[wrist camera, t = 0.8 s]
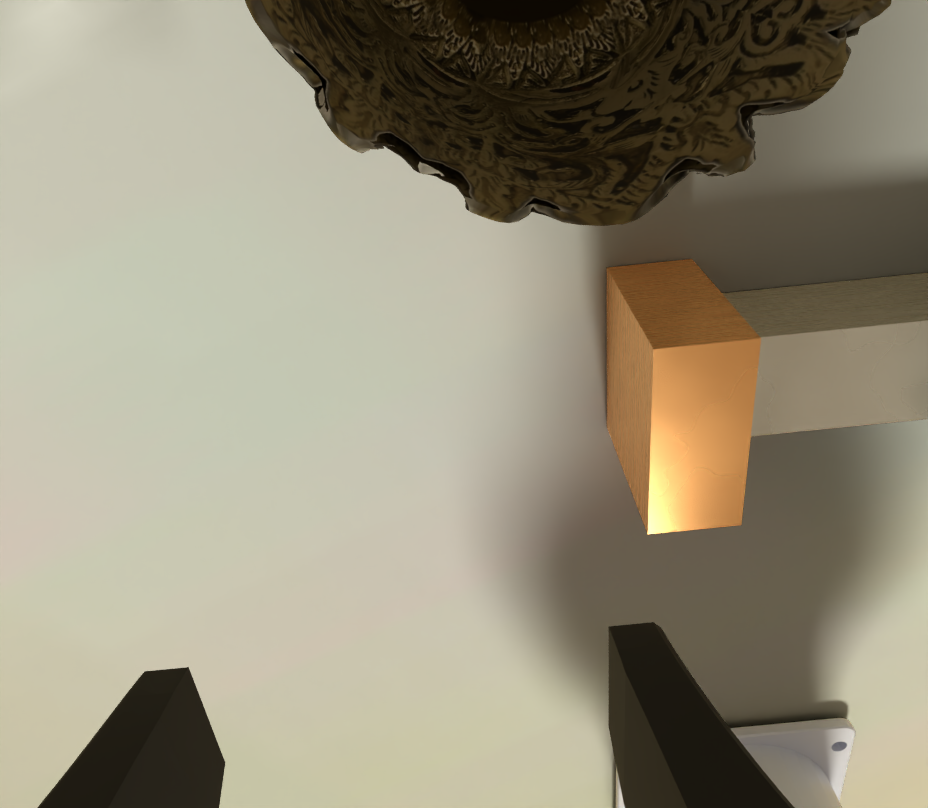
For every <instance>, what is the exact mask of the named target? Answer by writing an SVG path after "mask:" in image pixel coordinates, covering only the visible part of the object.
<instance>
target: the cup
mask: <svg viewBox="0 0 928 808" xmlns="http://www.w3.org/2000/svg"><path fill="white" fill-rule="evenodd" d="M245 2H246V4H247V7H248V9H249V11H250V13H251V15H252V17H253V18H254V20H255V22H256V23H257V25H258V26H259V28H260V29H261V31H262V32H263V33H264V34H265V36H266V37H267V38H268V40H269V41H270V43H271V44H272V46H273V47H274V48H275V49H276V51H277V52H278V53H279V54H280V55H281V56H282V57H283V58H284V59H285V60H286V61H287V62H288V63H289V64H290V65H291V66H292V67H293V68H294V69H295V70H296V71H297V72H298V73H299V74H300V75H301V76H302V77H303V78H304V79H305V80H306V82H307V83H308V84H309V85H310V86H311V87H312V88H313V89H314V90H315V101H316V106H317V108H318V110H319V111H320V113H321V115H322V117H323V118H324V120H325V122H326V123H327V125H328V126H329V128H330V129H331V131H332V132H333V133H334V134H335V135H336V137H337V138H338V139H339V140H340V141H342V142H343V143H344V144H345V145H347V146H348V147H350V148H351V149H353V150H355V151H357V152H360V153H364V152H366V151H368V150H370V149H384V147H383V146H385V147H387V148H388V149H390V150H391V151H393V152H395V153H396V154H398V155H400V156H401V157H402V158H403V159H404V160H405V161H406V162H407V163H408V164H409V165H410V166H411V167H412V168H413V169H414V170H415V171H417V172H419V173H422V174H428V175H433V176H436V177H438V178H440V179H441V180H444V181H446V182H448V183H451V184H453V185H455V186H456V187H457V188H458V189H459V191H460V192H461V194H462V195H463V196H464V198H465V202H466V206H465V207H466V209H467V210H468V211H470V212H472V213H474V214H477V215H479V216H482V217H485V218H488V219H491V220H494V221H498V222H505V223H511V222H517V221H519V220H521V219H523V218H524V217H526V216H528V215H529V214H530V212H535V213H538V214H543V215H546V216H549V217H551V218H554V219H556V220H559V221H561V222H565V223H572V224H578V225H595V226H605V225H616V224H625V223H628V222H631V221H634V220H636V219H638V218H640V217H641V216H643V215H644V214H646V213H647V212H648V211H650V210H651V209H652V208H653V207H655V206H656V205H657V204H658V203H659V202H660V201H662V200H663V199H664V198H665V197H667V195H668V193H669V191H670V190H671V189H672V188H673V187H674V186H675V185H676V184H677V183H678V182H679V181H681V180H682V179H683V178H685V176H686V175H687V174H688V173H689V172H690V171H697V172H703V173H704V174H707V175H708V176H723V177H724V176H728V175H731V174H734V173H737V172H741V171H745V170H746V169H747V168H748V167H749V166H750V165H751V164H752V163H753V162H754V161H755V159H756V158H755V151H754V145H755V141H754V137H755V131H754V130H753V129H752V124H753V120H752V119H751V118H752V116H755V115H774V114H781V113H785V112H790V111H795V110H800V109H803V108H805V107H806V106H808V105H810V104H811V103H813V102H814V101H816V100H818V99H819V98H820V97H822V96H823V95H824V94H825V93H827V92H828V91H829V90H830V89H831V88H832V87H833V86H834V85H835V83H836V82H837V81H838V80H839V79H840V77H841V76H842V74H843V71H844V70H843V69H844V67H845V65H846V63H847V61H848V59H849V56H850V53H851V49H850V48H849V47H848V45H847V44H846V38H847V37H851V36H855V35H857V34H858V31H859V28H860V26H861V25H863V24H864V23H866V22H868V21H869V20H871V19H873V18H875V17H876V16H878V15H880V14H881V13H882V12H883V11H884V10H885V9H887V8H888V7H889V6H890V4H891V0H245ZM747 121H748V122H749V126H748V123H747ZM748 129H749V132H748ZM749 135H750V137H749ZM697 174H700V173H697Z"/></svg>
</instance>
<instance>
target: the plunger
mask: <svg viewBox="0 0 928 808" xmlns="http://www.w3.org/2000/svg"><path fill="white" fill-rule="evenodd" d="M922 419H928V273H919V274H909V275H899V276H889V277H879V278H869V279H859V280H850V281H840V282H830V283H820V284H810V285H800V286H790V287H781V288H771V289H761V290H751V291H741V292H731V293H721V292H720V291H719V289H718V288H717V287H716V286H715V285H714V284H713V283H712V281H711V280H710V279H709V278H708V277H707V276H706V275H705V273H704V272H703V271H702V270H701V269H700V268H699V267H698V265H697V264H696V263H695V262H694V261H693V260H692V259H686V260H676V261H666V262H657V263H647V264H637V265H627V266H617V267H608V268H607V429H608V431H609V434H610V436H611V439H612V442H613V444H614V447H615V450H616V452H617V455H618V457H619V460H620V463H621V465H622V468H623V471H624V473H625V476H626V479H627V481H628V484H629V486H630V489H631V492H632V494H633V497H634V500H635V502H636V505H637V507H638V510H639V513H640V515H641V518H642V521H643V523H644V526H645V528H646V531H647V534H656V533H666V532H676V531H687V530H697V529H707V528H717V527H727V526H738V525H741V523H742V514H743V505H744V495H745V486H746V476H747V467H748V458H749V448H750V439H751V436H761V435H771V434H781V433H791V432H801V431H811V430H821V429H831V428H842V427H852V426H862V425H872V424H882V423H892V422H902V421H912V420H922Z"/></svg>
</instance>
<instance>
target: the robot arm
mask: <svg viewBox="0 0 928 808" xmlns="http://www.w3.org/2000/svg"><path fill="white" fill-rule="evenodd" d="M609 730H610V735H611V741H612V746H613V751H614V756H615V762H616V808H842V806H841V804H840V802H839V801H840V797H841V793H842V788H843V784H844V780H845V776H846V772H847V767H848V763H849V759H850V755H851V751H852V747H853V742H854V738H855V729H854V727H853V726H852V724H851V722H850V721H849V720H847V719H844V718H832V719H821V720H811V721H800V722H790V723H779V724H769V725H758V726H748V727H737V728H729V726H728V725H727V724H726V722H725V721H724V720H723V718H722V717H721V716H720V714H719V713H718V712H717V710H716V709H715V708H714V706H713V705H712V704H711V702H710V701H709V699H708V698H707V697H706V695H705V694H704V692H703V691H702V690H701V688H700V687H699V685H698V684H697V683H696V681H695V680H694V678H693V677H692V675H691V674H690V672H689V671H688V670H687V668H686V667H685V665H684V664H683V662H682V661H681V659H680V658H679V656H678V654H677V653H676V651H675V650H674V648H673V647H672V645H671V643H670V642H669V640H668V639H667V637H666V635H665V634H664V632H663V630H662V629H661V628H660V627H659V626H658V625H656V624H655V623H654V622H652V623H642V624H632V625H621V626H611V627H609ZM224 767H225V761H224V759H223V756H222V753H221V751H220V748H219V746H218V743H217V740H216V738H215V735H214V732H213V730H212V727H211V725H210V722H209V719H208V717H207V714H206V712H205V709H204V706H203V704H202V701H201V699H200V696H199V693H198V691H197V688H196V686H195V683H194V680H193V678H192V675H191V672H190V670H189V667H187V668H177V669H167V670H156V671H146V672H144V673H143V674H142V675H141V677H140V678H139V679H138V680H137V681H136V683H135V684H134V685H133V686H132V688H131V689H130V690H129V692H128V693H127V694H126V695H125V697H124V698H123V699H122V701H121V702H120V703H119V704H118V706H117V707H116V708H115V710H114V711H113V712H112V714H111V715H110V716H109V717H108V719H107V720H106V721H105V723H104V724H103V725H102V727H101V728H100V729H99V731H98V732H97V733H96V734H95V736H94V737H93V738H92V740H91V741H90V742H89V743H88V745H87V746H86V747H85V749H84V750H83V751H82V752H81V754H80V755H79V756H78V758H77V759H76V760H75V761H74V763H73V764H72V765H71V767H70V768H69V769H68V770H67V772H66V773H65V774H64V775H63V777H62V778H61V779H60V780H59V782H58V783H57V784H56V785H55V787H54V788H53V789H52V790H51V792H50V793H49V794H48V795H47V797H46V798H45V799H44V800H43V802H42V803H41V804H40V805H39V807H38V808H219V804H220V797H221V789H222V782H223V775H224Z"/></svg>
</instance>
